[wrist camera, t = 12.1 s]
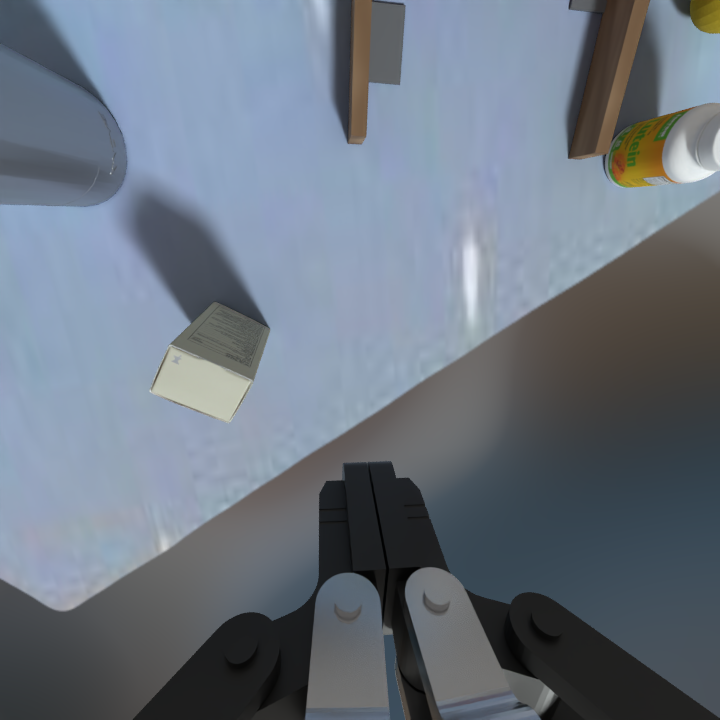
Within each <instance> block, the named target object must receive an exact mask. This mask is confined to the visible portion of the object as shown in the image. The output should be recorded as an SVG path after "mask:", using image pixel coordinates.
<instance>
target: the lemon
mask: <svg viewBox="0 0 720 720" xmlns="http://www.w3.org/2000/svg"><path fill="white" fill-rule="evenodd" d="M690 16H691V20H692V22H693V24H694V25H695V26H696V27H697V28H698V29H699V30H701V31H703V32H706V33H712V34H714V33H720V0H691V3H690Z"/></svg>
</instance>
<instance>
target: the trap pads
mask: <svg viewBox="0 0 720 720" xmlns="http://www.w3.org/2000/svg"><path fill="white" fill-rule="evenodd" d="M606 4H607V0H571V3H570V8H569V9H570V10H578V11H586V12H595V13H604V12H605V8H606ZM404 19H405V5H396V4H388V3H379V2H372V12H371V36H370V60H369V82H373V83H385V84H396V85H400V75H401V61H402V47H403V33H404Z"/></svg>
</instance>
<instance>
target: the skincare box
mask: <svg viewBox="0 0 720 720" xmlns="http://www.w3.org/2000/svg"><path fill="white" fill-rule="evenodd" d="M269 333H270V329H269V328H268V327H266V326H264V325H262V324H260V323H258V322H257V321H255V320H253V319H251V318H249V317H247V316H245V315H243V314H241V313H238V312H236V311H234V310H232V309H230V308H228V307H226V306H224V305H221V304H219V303H217V302H213V303H212V304H211V305H210V306H209V307H208V308H207V309H206V310H205V311H204V312H203V313H202V314H201V315H200V316H199V317H198V318H197V319H196V320H195V321H193V322H192V323H191V324H190V325H189V326H188V327H187V328H186V329H185V330H184V331H183V332H182V333H181V334H180V335H179V336H178V337H177V338H176V339H175V340H174V341H173V342H172V343H171V344H170V345H169V346H168V348H167V350H166V352H165V354H164V357H163V359H162V361H161V363H160V365H159V368H158V370H157V372H156V375H155V377H154V380H153V382H152V385H151V388H150V393H152V394H155V395H157V396H159V397H161V398H164V399H166V400H168V401H171V402H173V403H175V404H178V405H181V406H183V407H186V408H188V409H191V410H194V411H196V412H199V413H202V414H204V415H207V416H210V417H212V418H215V419H218V420H221V421H224V422H226V423H230V422H231V420H232V419H233V417H234V415H235V414H236V412H237V410H238V409H239V407H240V405H241V404H242V402H243V400H244V399H245V397H246V395H247V393H248V391H249V389H250V388H251V386H252V384H253V381H254V378H255V375H256V372H257V369H258V366H259V363H260V360H261V357H262V354H263V351H264V348H265V345H266V342H267V339H268V336H269Z"/></svg>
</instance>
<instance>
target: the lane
mask: <svg viewBox="0 0 720 720" xmlns="http://www.w3.org/2000/svg"><path fill="white" fill-rule="evenodd" d="M649 2H650V0H607V4H606V8H605V12H604V13H603V15H602V19H601V23H600V27H599V32H598V36H597V40H596V44H595V49H594V53H593V57H592V61H591V65H590V70H589V74H588V78H587V82H586V87H585V91H584V95H583V99H582V104H581V108H580V112H579V116H578V121H577V125H576V129H575V133H574V137H573V142H572V146H571V150H570V154H569V159H585V158H590V157H595V156H599V155H604V154H608V152H609V149H610V145H611V141H612V138H613V134H614V130H615V127H616V123H617V119H618V116H619V112H620V108H621V105H622V101H623V97H624V94H625V90H626V86H627V83H628V79H629V75H630V72H631V68H632V64H633V61H634V57H635V53H636V50H637V46H638V42H639V39H640V35H641V31H642V28H643V24H644V20H645V17H646V13H647V9H648V6H649ZM371 12H372V0H352V2H351V42H350V81H349V120H348V144H362V143H363V141H364V139H365V138H366V130H367V107H368V83H369V60H370V36H371Z"/></svg>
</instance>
